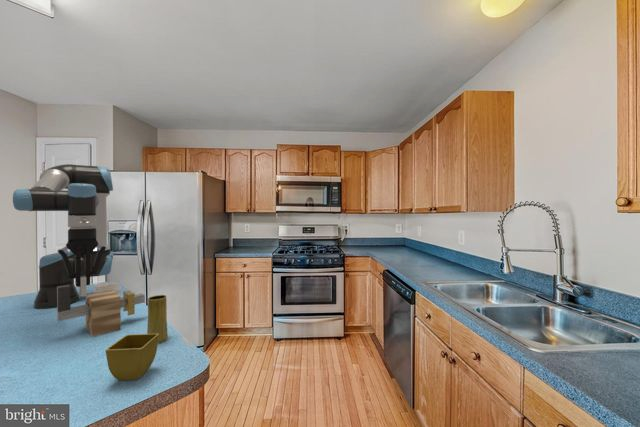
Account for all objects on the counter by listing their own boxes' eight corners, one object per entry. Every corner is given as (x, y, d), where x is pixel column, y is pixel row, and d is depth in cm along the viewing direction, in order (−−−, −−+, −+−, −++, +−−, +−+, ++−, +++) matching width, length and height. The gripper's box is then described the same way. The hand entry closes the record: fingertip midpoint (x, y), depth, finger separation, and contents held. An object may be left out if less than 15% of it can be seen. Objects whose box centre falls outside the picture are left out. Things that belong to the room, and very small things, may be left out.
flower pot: (126, 366, 76) (126, 334, 76) (159, 364, 77) (159, 332, 76) (104, 386, 67) (104, 350, 67) (142, 384, 68) (141, 348, 68)
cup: (126, 308, 121) (125, 281, 121) (108, 316, 112) (108, 286, 112) (107, 307, 122) (107, 280, 122) (88, 315, 113) (88, 286, 113)
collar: (123, 311, 108) (123, 291, 108) (129, 309, 109) (129, 290, 109) (128, 315, 103) (128, 294, 103) (134, 314, 105) (134, 293, 105)
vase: (172, 337, 93) (172, 295, 93) (156, 345, 87) (155, 301, 87) (158, 334, 95) (158, 293, 95) (142, 342, 89) (141, 299, 89)
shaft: (57, 318, 92) (56, 286, 92) (142, 300, 111) (142, 273, 111) (58, 321, 90) (57, 288, 90) (144, 302, 109) (144, 274, 109)
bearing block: (85, 326, 101) (85, 294, 101) (112, 320, 107) (112, 289, 107) (92, 336, 93) (91, 301, 93) (120, 329, 99) (120, 296, 99)
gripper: (58, 229, 89) (58, 302, 89) (108, 227, 98) (108, 293, 99) (55, 228, 94) (56, 297, 94) (103, 226, 103) (103, 289, 104)
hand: (82, 295), depth 96 cm, fingers closed
